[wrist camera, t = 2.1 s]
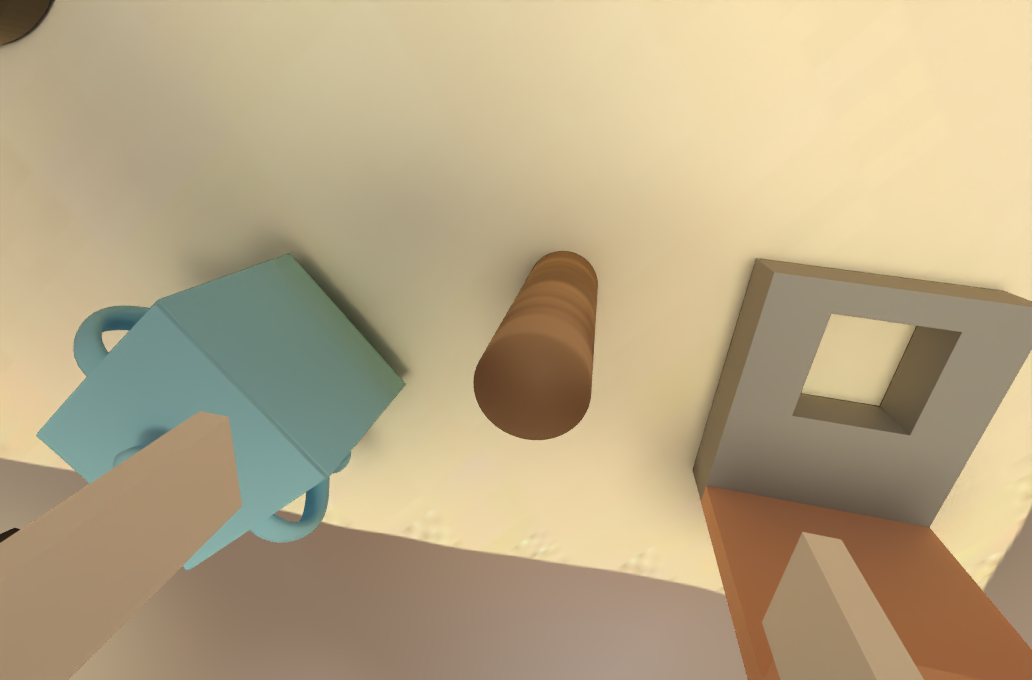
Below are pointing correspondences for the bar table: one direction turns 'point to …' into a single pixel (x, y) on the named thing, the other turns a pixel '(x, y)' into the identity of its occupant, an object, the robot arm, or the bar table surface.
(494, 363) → the walnut peg
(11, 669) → the robot arm
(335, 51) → the bar table surface
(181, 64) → the bar table surface
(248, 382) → the teal cube teapot
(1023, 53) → the bar table surface
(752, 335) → the socket stand
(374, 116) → the bar table surface
